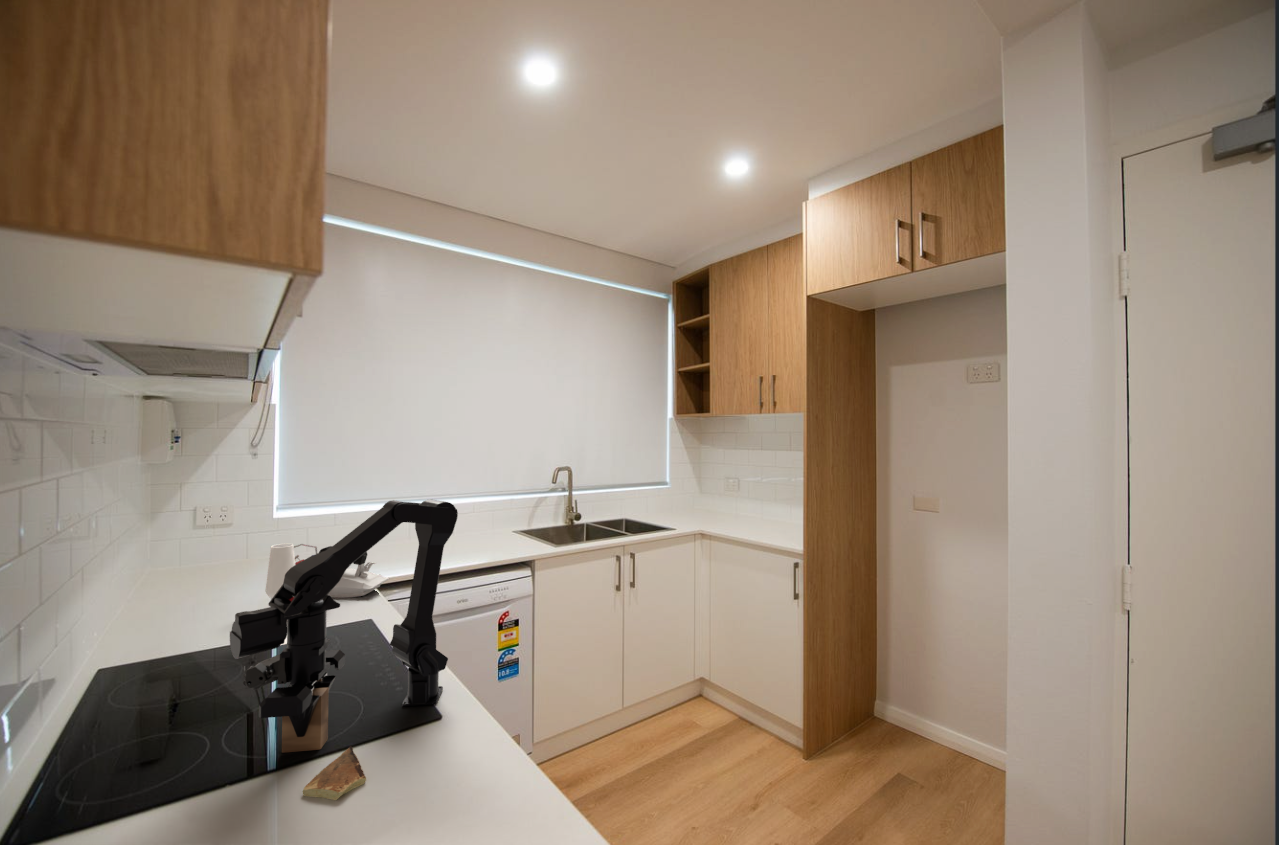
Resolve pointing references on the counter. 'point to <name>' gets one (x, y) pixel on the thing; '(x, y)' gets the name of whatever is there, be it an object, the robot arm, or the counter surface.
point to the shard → (337, 777)
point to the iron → (357, 579)
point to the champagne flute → (279, 568)
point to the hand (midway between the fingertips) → (305, 730)
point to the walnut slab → (316, 728)
